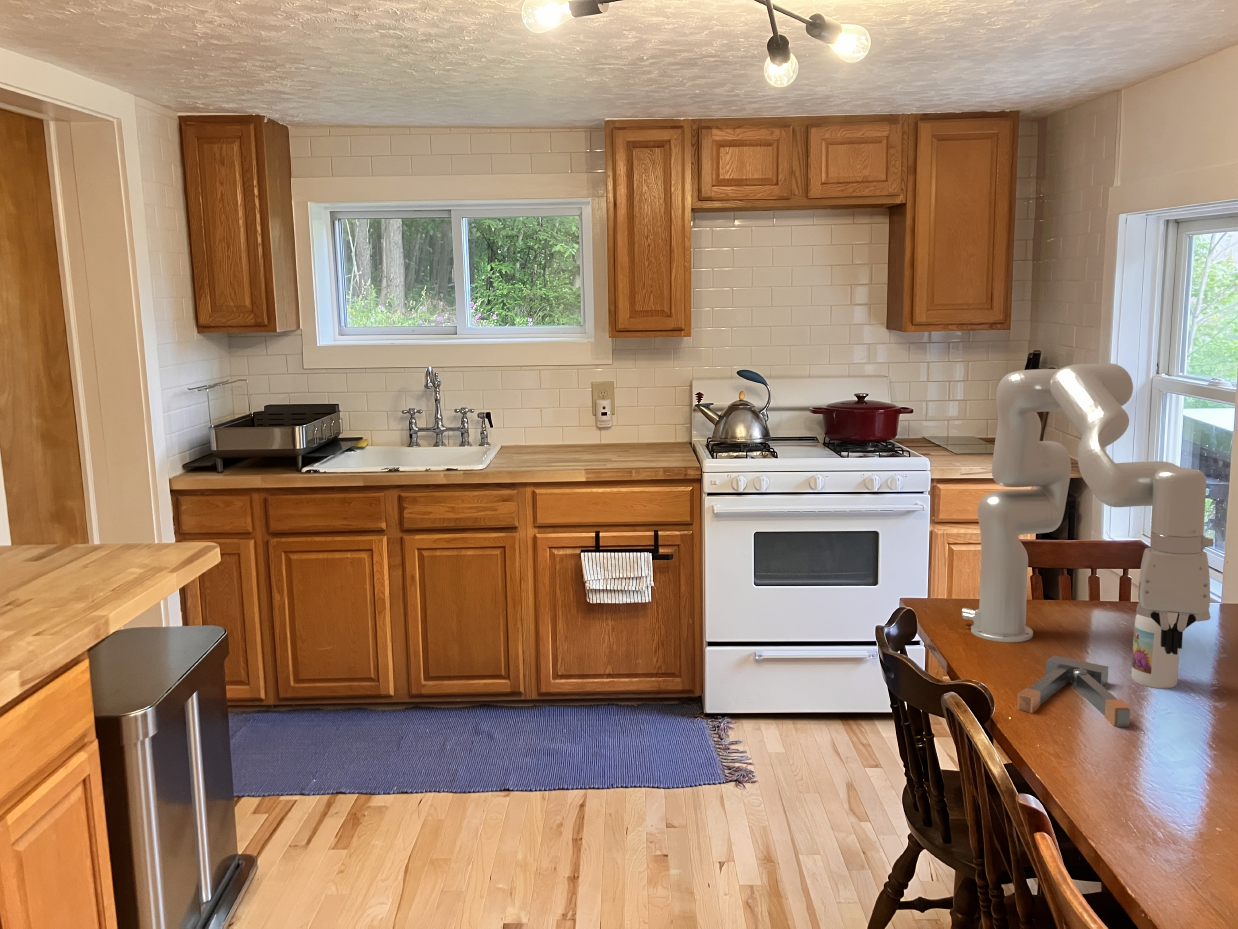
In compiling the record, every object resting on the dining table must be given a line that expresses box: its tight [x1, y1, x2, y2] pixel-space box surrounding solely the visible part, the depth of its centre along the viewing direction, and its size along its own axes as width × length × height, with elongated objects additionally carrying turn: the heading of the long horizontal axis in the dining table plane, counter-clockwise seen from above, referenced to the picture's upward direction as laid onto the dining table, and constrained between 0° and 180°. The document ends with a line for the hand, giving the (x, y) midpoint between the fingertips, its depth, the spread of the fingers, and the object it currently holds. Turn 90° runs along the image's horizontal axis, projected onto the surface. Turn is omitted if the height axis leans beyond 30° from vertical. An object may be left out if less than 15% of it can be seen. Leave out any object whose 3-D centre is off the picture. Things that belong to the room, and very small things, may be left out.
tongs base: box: [1016, 654, 1109, 714], centre depth 183 cm, size 10×23×4 cm, turn 137°
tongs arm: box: [1072, 669, 1132, 728], centre depth 178 cm, size 19×3×3 cm, turn 177°
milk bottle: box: [1131, 611, 1181, 690], centre depth 188 cm, size 8×8×20 cm
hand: (1170, 651), depth 167 cm, fingers closed
